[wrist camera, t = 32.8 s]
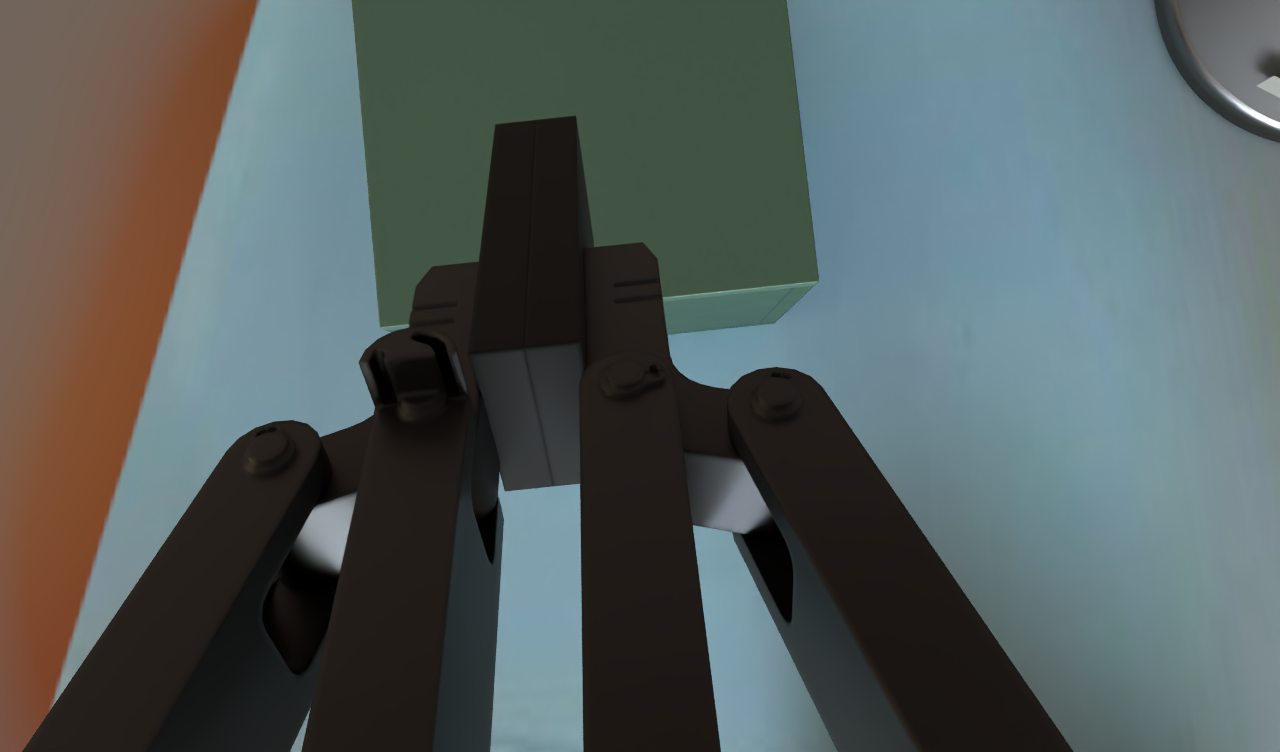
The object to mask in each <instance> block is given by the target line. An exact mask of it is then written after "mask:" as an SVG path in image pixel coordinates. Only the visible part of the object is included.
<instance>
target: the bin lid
mask: <svg viewBox="0 0 1280 752" xmlns="http://www.w3.org/2000/svg"><path fill="white" fill-rule="evenodd" d="M352 7H353V19H354V31H355V42H356V54H357V66H358V77H359V89H360V101H361V112H362V124H363V136H364V147H365V159H366V171H367V182H368V194H369V206H370V217H371V229H372V240H373V252H374V264H375V275H376V287H377V299H378V310H379V322H380V328H382V329H384V330H397V329H405V328H409V318H410V313H411V311H412V303H413V298H414V293H415V288H416V285H417V284H418V283H419V282H420V281H421V279H422V278H423V277H424V276H425V274H426V273H427V272H428V271H429V270H430V268H431V267H432V266H441V265H451V264H460V263H470V262H479V255H480V247H481V238H482V230H483V221H484V213H485V205H486V196H487V188H488V180H489V171H490V163H491V155H492V146H493V138H494V129H495V124H502V123H511V122H521V121H530V120H539V119H549V118H558V117H567V116H576V118H577V125H578V132H579V139H580V147H581V154H582V161H583V168H584V175H585V182H586V189H587V196H588V203H589V210H590V217H591V224H592V232H593V239H594V247H601V246H610V245H620V244H629V243H639V242H643V243H644V244H645V245H646V246H647V247H648V248H649V250H650V251H651V252H652V253H653V254H654V255H655V256H656V257H657V258H658V266H659V274H660V282H661V289H662V298H663V301H673V300H682V299H692V298H701V297H711V296H720V295H730V294H740V293H749V292H759V291H768V290H778V289H787V288H797V287H806V286H815V285H816V284H817V283H818V282H819V277H818V268H817V259H816V251H815V242H814V233H813V225H812V216H811V208H810V199H809V190H808V182H807V173H806V165H805V156H804V147H803V139H802V130H801V121H800V113H799V104H798V96H797V87H796V78H795V70H794V61H793V53H792V44H791V35H790V27H789V18H788V9H787V1H786V0H352Z"/></svg>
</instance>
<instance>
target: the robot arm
mask: <svg viewBox="0 0 1280 752" xmlns="http://www.w3.org/2000/svg"><path fill="white" fill-rule="evenodd" d="M1155 5H1156V12H1157V18H1158V23H1159V27H1160V31H1161V34H1162V37H1163V40H1164V42H1165V45H1166V48H1167V50H1168V52H1169V54H1170V56H1171V58H1172V60H1173V62H1174V64H1175V65H1176V67H1177V69H1178V71H1179V72H1180V74H1181V75H1182V77H1183V78H1184V79H1185V81H1186V82H1187V83H1188V85H1189V86H1190V87H1191V88H1192V89H1193V90H1194V92H1195V93H1196V94H1197V95H1198V96H1199V97H1200V98H1201V99H1202V100H1203V101H1204V102H1205V103H1206V104H1207V105H1208V106H1210V107H1211V108H1212V109H1213V110H1214V111H1216V112H1217V113H1218V114H1220V115H1221V116H1222V117H1224V118H1225V119H1227V120H1228V121H1230V122H1232V123H1233V124H1235V125H1236V126H1238V127H1240V128H1242V129H1244V130H1246V131H1248V132H1250V133H1253V134H1255V135H1258V136H1261V137H1263V138H1266V139H1269V140H1273V141H1276V142H1280V0H1155ZM359 365H360V368H361V370H362V373H363V376H364V378H365V381H366V384H367V386H368V389H369V392H370V394H371V397H372V400H373V402H374V405H375V411H374V415H373V416H371V417H370V418H368V419H366V420H365V421H363V422H361V423H358V424H356V425H354V426H351V427H349V428H346V429H343V430H340V431H337V432H334V433H331V434H329V435H326V436H323V437H319V435H318V432H317V431H315V430H314V429H313V428H312V427H311V426H309V425H308V424H306V423H302V422H298V421H294V420H289V421H276V422H272V423H269V424H266V425H263V426H260V427H257V428H255V429H253V430H251V431H250V432H248V433H247V434H245V435H243V436H242V437H240V438H239V439H238V440H237V441H236V442H235V443H234V444H233V445H232V446H231V447H230V448H229V449H228V450H227V451H226V453H225V454H224V456H223V457H222V459H221V460H220V462H219V463H218V465H217V466H216V467H215V469H214V470H213V472H212V473H211V475H210V476H209V478H208V479H207V481H206V482H205V484H204V485H203V487H202V488H201V490H200V491H199V492H198V494H197V495H196V497H195V498H194V500H193V501H192V503H191V504H190V506H189V507H188V509H187V510H186V512H185V513H184V515H183V516H182V517H181V519H180V520H179V522H178V523H177V525H176V526H175V528H174V529H173V531H172V532H171V534H170V535H169V537H168V538H167V540H166V541H165V543H164V544H163V545H162V547H161V548H160V550H159V551H158V553H157V554H156V556H155V557H154V559H153V560H152V562H151V563H150V565H149V566H148V568H147V569H146V570H145V572H144V573H143V575H142V576H141V578H140V579H139V581H138V582H137V584H136V585H135V587H134V588H133V590H132V591H131V593H130V594H129V595H128V597H127V598H126V600H125V601H124V603H123V604H122V606H121V607H120V609H119V610H118V612H117V613H116V615H115V616H114V618H113V619H112V620H111V622H110V623H109V625H108V626H107V628H106V629H105V631H104V632H103V634H102V635H101V637H100V638H99V640H98V641H97V643H96V644H95V645H94V647H93V648H92V650H91V651H90V653H89V654H88V656H87V657H86V659H85V660H84V662H83V663H82V665H81V666H80V668H79V669H78V671H77V672H76V673H75V675H74V676H73V678H72V679H71V681H70V682H69V684H68V685H67V687H66V688H65V690H64V691H63V693H62V694H61V696H60V697H59V698H58V700H57V701H56V703H55V704H54V706H53V707H52V709H51V710H50V712H49V713H48V715H47V716H46V718H45V719H44V721H43V722H42V724H41V725H40V727H39V728H38V729H37V731H36V732H35V734H34V735H33V737H32V738H31V740H30V741H29V743H28V744H27V746H26V747H25V748H24V750H23V751H22V752H290V750H291V748H292V746H293V744H294V742H295V739H296V737H297V735H298V733H299V731H300V729H301V727H302V724H303V722H304V720H305V718H306V716H307V714H308V712H309V709H310V707H311V709H310V714H309V719H308V723H307V728H306V733H305V737H304V742H303V747H302V751H301V752H490V745H491V728H492V711H493V695H494V678H495V661H496V644H497V627H498V610H499V593H500V576H501V559H502V542H503V525H504V518H503V513H502V508H501V504H500V501H499V497H498V484H499V471H500V475H501V479H502V482H503V486H504V490H505V491H512V490H522V489H532V488H541V487H551V486H561V485H570V484H580V499H581V581H582V663H583V745H584V752H721V748H720V740H719V732H718V724H717V716H716V708H715V700H714V692H713V684H712V677H711V669H710V661H709V653H708V645H707V637H706V629H705V621H704V613H703V605H702V597H701V589H700V581H699V573H698V565H697V557H696V549H695V541H694V533H693V525H696V526H701V527H707V528H713V529H718V530H724V531H730V532H732V533H733V537H734V541H735V543H736V545H737V547H738V549H739V551H740V553H741V555H742V557H743V559H744V561H745V563H746V565H747V567H748V569H749V571H750V573H751V575H752V577H753V579H754V581H755V583H756V586H757V588H758V590H759V592H760V594H761V596H762V598H763V600H764V602H765V604H766V606H767V608H768V610H769V612H770V614H771V616H772V618H773V620H774V622H775V624H776V626H777V629H778V631H779V633H780V635H781V637H782V639H783V641H784V643H785V645H786V647H787V649H788V651H789V653H790V655H791V657H792V659H793V661H794V663H795V665H796V667H797V669H798V671H799V674H800V676H801V678H802V680H803V682H804V684H805V686H806V688H807V690H808V692H809V694H810V696H811V698H812V700H813V702H814V704H815V706H816V708H817V710H818V712H819V714H820V716H821V719H822V721H823V723H824V725H825V727H826V729H827V731H828V733H829V735H830V737H831V739H832V741H833V743H834V745H835V747H836V749H837V751H838V752H1073V750H1072V749H1071V747H1070V746H1069V745H1068V743H1067V742H1066V740H1065V739H1064V737H1063V736H1062V734H1061V733H1060V731H1059V730H1058V729H1057V727H1056V726H1055V724H1054V723H1053V721H1052V720H1051V718H1050V717H1049V715H1048V714H1047V713H1046V711H1045V710H1044V708H1043V707H1042V705H1041V704H1040V702H1039V701H1038V699H1037V698H1036V697H1035V695H1034V694H1033V692H1032V691H1031V689H1030V688H1029V686H1028V685H1027V684H1026V682H1025V681H1024V679H1023V678H1022V676H1021V675H1020V673H1019V672H1018V670H1017V669H1016V668H1015V666H1014V665H1013V663H1012V662H1011V660H1010V659H1009V657H1008V656H1007V654H1006V653H1005V652H1004V650H1003V649H1002V647H1001V646H1000V644H999V643H998V641H997V640H996V639H995V637H994V636H993V634H992V633H991V631H990V630H989V628H988V627H987V625H986V624H985V623H984V621H983V620H982V618H981V617H980V615H979V614H978V612H977V611H976V609H975V608H974V607H973V605H972V604H971V602H970V601H969V599H968V598H967V596H966V595H965V594H964V592H963V591H962V589H961V588H960V586H959V585H958V583H957V582H956V580H955V579H954V578H953V576H952V575H951V573H950V572H949V570H948V569H947V567H946V566H945V564H944V563H943V562H942V560H941V559H940V557H939V556H938V554H937V553H936V551H935V550H934V548H933V547H932V546H931V544H930V543H929V541H928V540H927V538H926V537H925V535H924V534H923V533H922V531H921V530H920V528H919V527H918V525H917V524H916V522H915V521H914V519H913V518H912V517H911V515H910V514H909V512H908V511H907V509H906V508H905V506H904V505H903V503H902V502H901V501H900V499H899V498H898V496H897V495H896V493H895V492H894V490H893V489H892V488H891V486H890V485H889V483H888V482H887V480H886V479H885V477H884V476H883V474H882V473H881V472H880V470H879V469H878V467H877V466H876V464H875V463H874V461H873V460H872V458H871V457H870V456H869V454H868V453H867V451H866V450H865V448H864V447H863V445H862V444H861V443H860V441H859V440H858V438H857V437H856V435H855V434H854V432H853V431H852V429H851V428H850V427H849V425H848V424H847V422H846V421H845V419H844V418H843V416H842V415H841V413H840V412H839V411H838V409H837V408H836V406H835V405H834V403H833V402H832V400H831V399H830V397H829V396H828V395H827V393H826V392H825V390H824V389H823V387H822V386H821V385H820V384H818V383H817V382H816V381H815V380H814V379H813V378H812V377H811V376H809V375H806V374H804V373H802V372H799V371H797V370H795V369H787V368H779V367H773V368H765V369H758V370H755V371H753V372H751V373H748V374H746V375H744V376H742V377H741V378H740V379H739V380H738V381H737V382H736V383H735V384H733V385H732V386H731V388H730V389H723V388H716V387H711V386H706V385H702V384H699V383H697V382H694V381H692V380H690V379H688V378H687V377H685V376H684V375H683V374H681V373H680V372H679V371H678V370H677V368H676V367H675V366H674V365H673V363H672V360H671V357H670V352H669V344H668V336H667V328H666V321H665V313H664V305H663V298H662V289H661V282H660V274H659V266H658V258H657V257H656V256H655V255H654V254H653V253H652V252H651V251H650V250H649V248H648V247H647V246H646V245H645V244H644V243H643V242H639V243H629V244H620V245H610V246H601V247H594V239H593V232H592V224H591V217H590V210H589V203H588V196H587V189H586V182H585V175H584V168H583V161H582V154H581V147H580V139H579V132H578V125H577V118H576V116H567V117H558V118H549V119H539V120H530V121H521V122H511V123H502V124H495V129H494V138H493V146H492V155H491V163H490V171H489V180H488V188H487V196H486V205H485V213H484V221H483V230H482V238H481V247H480V255H479V262H470V263H460V264H451V265H441V266H432V267H431V268H430V270H429V271H428V272H427V273H426V274H425V276H424V277H423V278H422V279H421V281H420V282H419V283H418V284H417V285H416V288H415V293H414V298H413V303H412V311H411V313H410V318H409V328H405V329H401V330H396V331H393V332H391V333H389V334H387V335H385V336H383V337H381V338H379V339H377V340H376V341H375V342H374V343H373V344H372V345H371V346H369V347H368V348H367V349H366V350H365V352H364V353H363V355H362V357H361V359H360V361H359Z"/></svg>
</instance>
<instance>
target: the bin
mask: <svg viewBox="0 0 1280 752" xmlns="http://www.w3.org/2000/svg"><path fill="white" fill-rule="evenodd" d="M813 287H814V286H806V287H797V288H787V289H778V290H768V291H759V292H749V293H740V294H730V295H720V296H711V297H701V298H692V299H682V300H673V301H663V305H664V313H665V321H666V328H667V335H668V334H677V333H687V332H696V331H706V330H715V329H725V328H735V327H744V326H754V325H763V324H773V323H775V322H776V321H777V320H779V319H780V318H781V317H782V316H783V315H784V314H785V313H786V312H787V311H788V310H789V309H790V308H791V307H792V306H793V305H794V304H796V303H797V302H798V301H799V300H800V299H801V298H802V297H803V296H804V295H805V294H806V293H807V292H808V291H809V290H810V289H812V288H813ZM397 330H401V329H397ZM387 331H390V332H393V331H396V330H387Z"/></svg>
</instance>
